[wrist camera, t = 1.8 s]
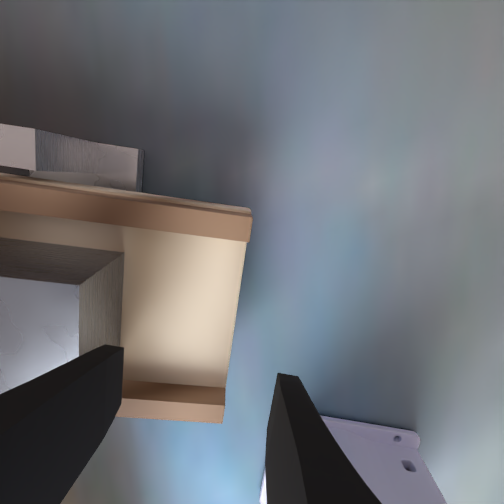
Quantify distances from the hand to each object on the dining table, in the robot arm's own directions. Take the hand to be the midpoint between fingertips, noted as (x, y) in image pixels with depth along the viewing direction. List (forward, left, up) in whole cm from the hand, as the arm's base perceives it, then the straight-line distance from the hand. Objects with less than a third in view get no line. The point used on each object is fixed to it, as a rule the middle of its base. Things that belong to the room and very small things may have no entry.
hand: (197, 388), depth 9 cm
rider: (+8, 0, -4) cm, 9 cm away
